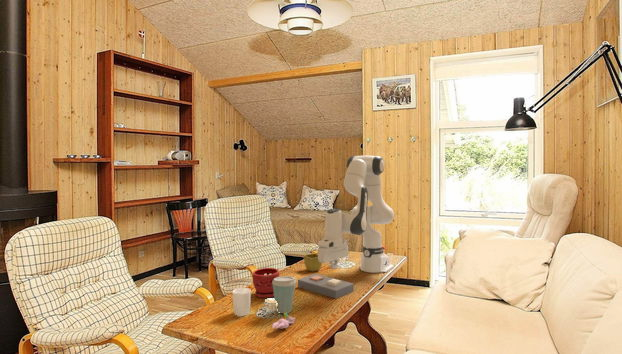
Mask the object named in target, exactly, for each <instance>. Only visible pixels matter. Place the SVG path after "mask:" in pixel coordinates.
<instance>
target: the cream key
mask: <svg viewBox="0 0 622 354" xmlns="http://www.w3.org/2000/svg"><path fill="white" fill-rule="evenodd" d="M336 279H337V278H334V279H332V280H329V281H327V284H328V285H331V286H338V285H340V284H341V281H340V280H341V279H338V280H336Z"/></svg>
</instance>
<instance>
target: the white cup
mask: <svg viewBox="0 0 622 354" xmlns="http://www.w3.org/2000/svg"><path fill="white" fill-rule="evenodd" d="M231 293H232V305H233V315H234V314H235V315H234V316H236V315H237V316H236V317H245V316H244V315H246V316H248V315H250V313H251V299H252V298H251V297H252V290H251V289H250V288H248V287H239V288H235V289H233V290H232V292H231ZM247 314H248V315H247Z"/></svg>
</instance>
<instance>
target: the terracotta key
mask: <svg viewBox="0 0 622 354" xmlns="http://www.w3.org/2000/svg"><path fill="white" fill-rule="evenodd" d="M310 280H313V281H320V280H323V277H320V276H313V277H310Z"/></svg>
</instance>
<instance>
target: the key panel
mask: <svg viewBox="0 0 622 354" xmlns="http://www.w3.org/2000/svg"><path fill="white" fill-rule="evenodd" d="M313 276H320V277H323V280H320V281H313V280H310V277H313ZM332 279H336V280H340V281H341V284H340V285H338V286H331V285H328V284H327V281H329V280H332ZM354 285H355V284H354V283H353V282H349V281H345V280H343V279H337V278H335V277H329V276H326V275H323V274H319V273H313V274H310V275H306V276H304V277H302V278H298V279H297V287H298V288H300V289H303V290H307V291H309V292H314V293H316V294H318V295H323V296H326V297H330V298H333V299H336V300H337V299H338V298H341V297H344V296H347V295H349V294H351V293H354V289H355V288H354Z"/></svg>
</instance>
